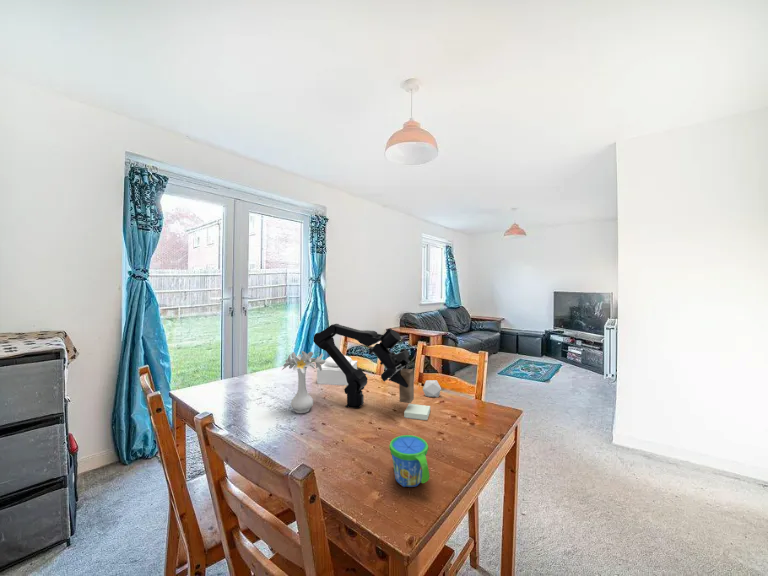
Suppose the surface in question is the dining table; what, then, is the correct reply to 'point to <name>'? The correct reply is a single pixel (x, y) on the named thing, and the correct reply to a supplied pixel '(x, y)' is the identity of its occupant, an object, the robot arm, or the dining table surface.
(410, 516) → the dining table surface
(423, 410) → the top slab
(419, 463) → the snack cup
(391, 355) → the robot arm
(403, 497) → the dining table surface
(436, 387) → the die
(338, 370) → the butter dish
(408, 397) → the pillar
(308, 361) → the flower vase
